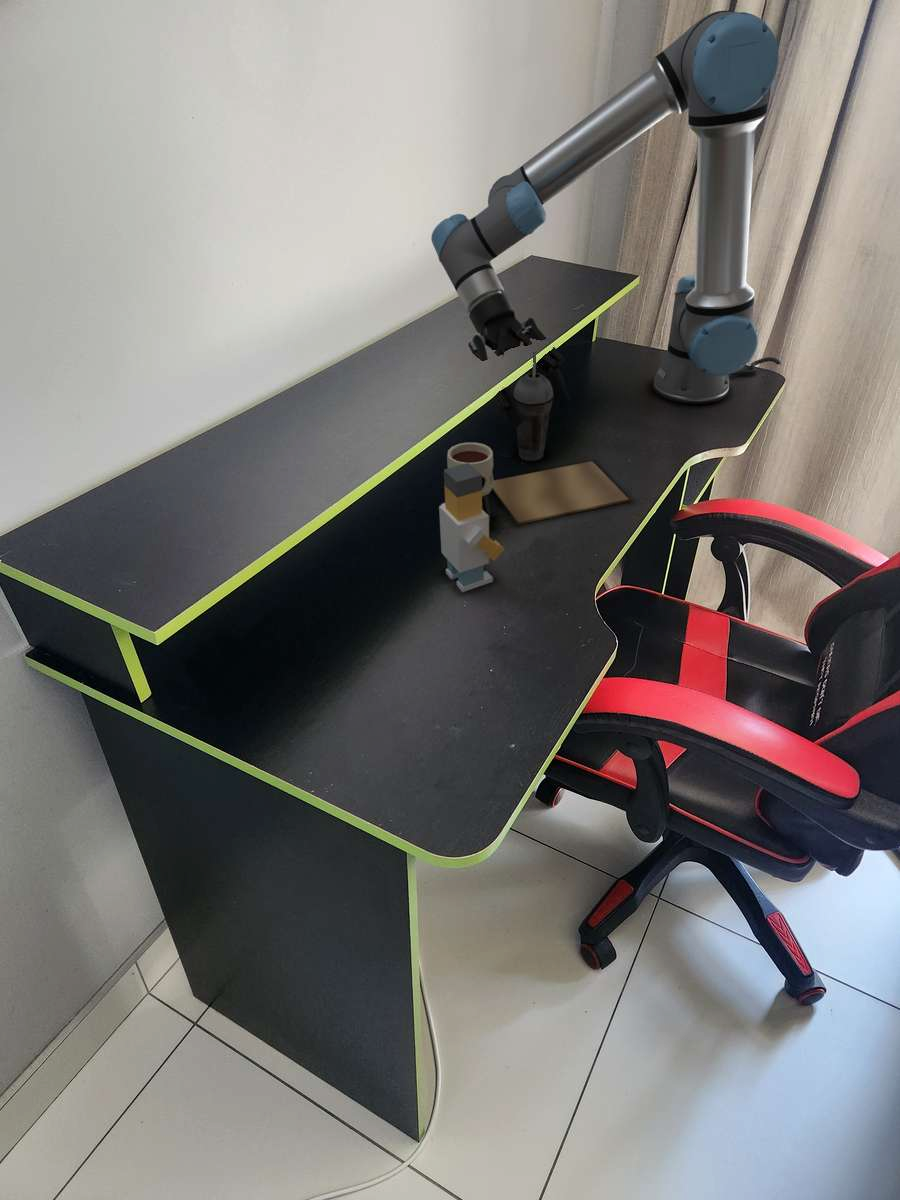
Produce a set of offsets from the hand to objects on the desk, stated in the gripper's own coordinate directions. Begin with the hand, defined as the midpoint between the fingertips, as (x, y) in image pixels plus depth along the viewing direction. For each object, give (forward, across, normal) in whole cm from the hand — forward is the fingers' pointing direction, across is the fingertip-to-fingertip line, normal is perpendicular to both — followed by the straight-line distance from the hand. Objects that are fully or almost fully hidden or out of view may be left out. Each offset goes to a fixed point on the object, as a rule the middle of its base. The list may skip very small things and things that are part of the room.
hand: (543, 414), depth 137 cm
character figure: (+20, +33, +7) cm, 39 cm away
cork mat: (+14, +6, +1) cm, 15 cm away
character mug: (+12, +23, -1) cm, 26 cm away
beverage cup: (+5, 0, -9) cm, 10 cm away
